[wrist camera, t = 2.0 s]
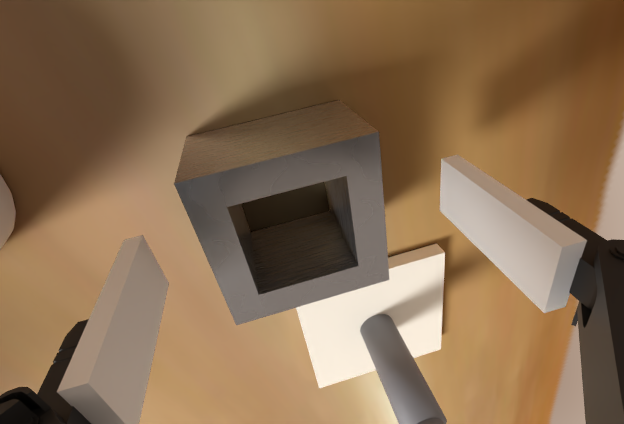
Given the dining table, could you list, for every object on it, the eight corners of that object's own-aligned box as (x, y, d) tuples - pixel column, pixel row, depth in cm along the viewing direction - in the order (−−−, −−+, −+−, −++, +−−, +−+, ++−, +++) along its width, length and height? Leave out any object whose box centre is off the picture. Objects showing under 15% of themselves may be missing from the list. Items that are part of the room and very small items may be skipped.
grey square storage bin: (233, 258, 20) (236, 325, 16) (186, 136, 16) (174, 183, 12) (355, 224, 21) (389, 279, 17) (339, 99, 17) (378, 131, 13)
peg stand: (316, 376, 27) (353, 522, 20) (290, 285, 22) (327, 437, 14) (434, 339, 28) (513, 464, 21) (436, 243, 23) (545, 363, 15)
